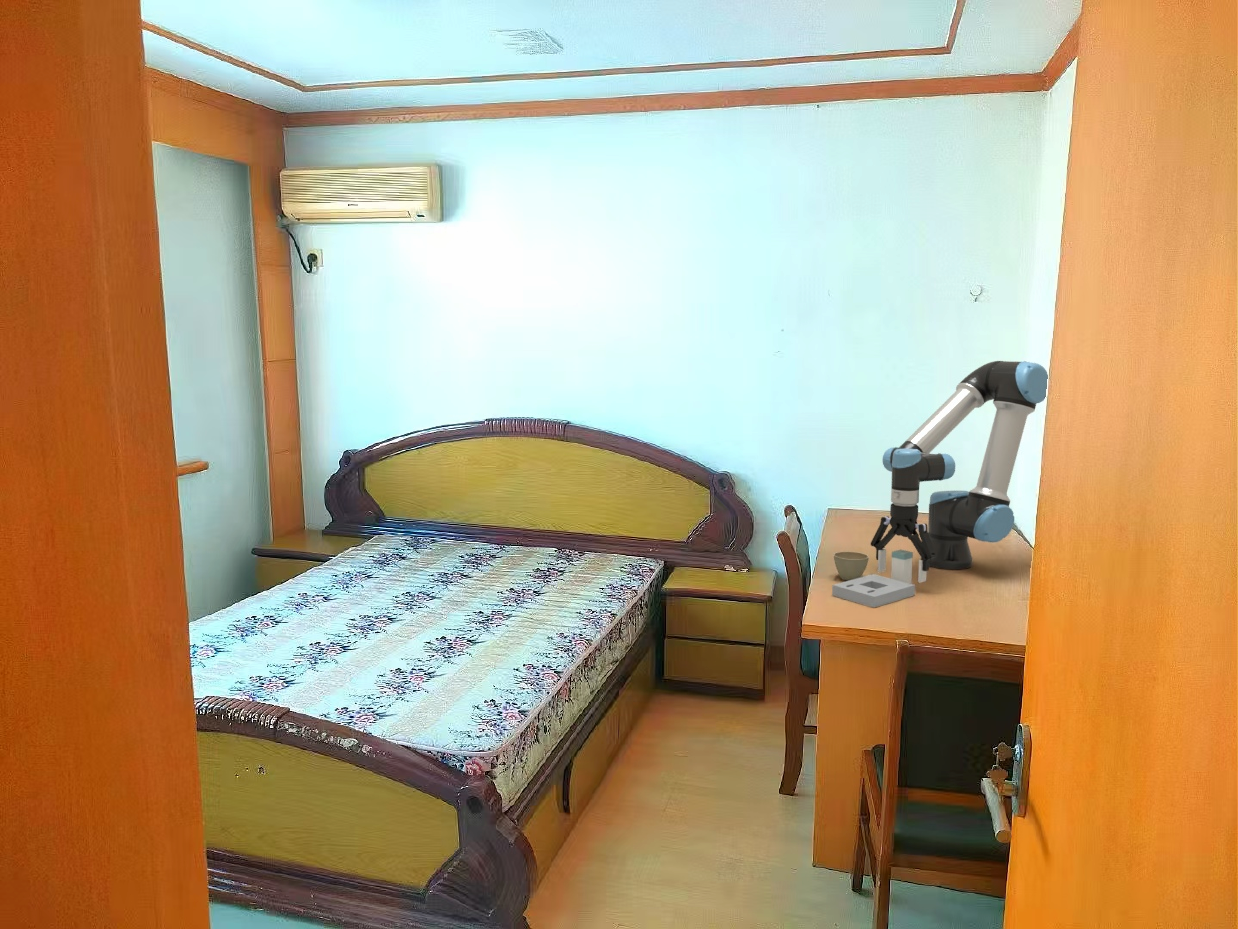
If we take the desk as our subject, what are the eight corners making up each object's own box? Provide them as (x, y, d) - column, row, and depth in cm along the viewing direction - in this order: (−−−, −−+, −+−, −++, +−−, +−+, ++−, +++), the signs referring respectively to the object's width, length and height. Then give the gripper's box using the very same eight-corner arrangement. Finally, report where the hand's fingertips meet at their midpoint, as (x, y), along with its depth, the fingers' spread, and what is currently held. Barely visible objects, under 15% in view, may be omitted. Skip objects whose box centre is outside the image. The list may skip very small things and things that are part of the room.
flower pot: (866, 584, 257) (867, 560, 255) (831, 581, 260) (831, 557, 259) (869, 576, 266) (870, 552, 265) (835, 573, 269) (835, 549, 268)
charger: (899, 583, 258) (900, 549, 257) (911, 586, 255) (912, 552, 254) (890, 585, 256) (891, 551, 254) (902, 588, 253) (904, 554, 251)
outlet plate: (872, 584, 257) (873, 573, 257) (914, 595, 246) (915, 584, 246) (832, 595, 246) (832, 584, 246) (874, 607, 235) (874, 596, 235)
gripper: (860, 498, 259) (857, 569, 263) (935, 512, 240) (932, 588, 243) (876, 495, 264) (873, 565, 267) (951, 508, 244) (947, 583, 247)
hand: (901, 576), depth 255 cm, fingers open, 13 cm apart
